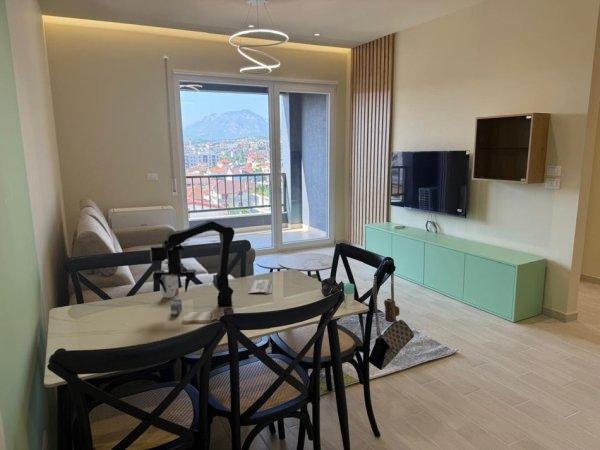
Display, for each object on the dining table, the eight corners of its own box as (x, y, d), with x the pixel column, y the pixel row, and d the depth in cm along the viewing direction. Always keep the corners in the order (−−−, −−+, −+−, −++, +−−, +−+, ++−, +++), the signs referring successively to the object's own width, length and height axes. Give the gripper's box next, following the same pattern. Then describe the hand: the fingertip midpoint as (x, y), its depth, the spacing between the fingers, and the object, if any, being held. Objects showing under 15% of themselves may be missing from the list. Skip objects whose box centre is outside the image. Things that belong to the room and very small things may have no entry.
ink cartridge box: (170, 292, 225) (169, 265, 222) (178, 292, 224) (177, 266, 221) (162, 297, 216) (160, 270, 214) (171, 298, 215) (169, 270, 213)
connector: (182, 308, 201) (182, 298, 200) (177, 318, 190) (177, 307, 189) (174, 308, 201) (174, 299, 200) (169, 318, 189) (168, 307, 188)
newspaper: (271, 295, 223) (270, 291, 222) (248, 297, 223) (248, 292, 223) (274, 282, 245) (274, 278, 245) (254, 284, 246) (253, 279, 245)
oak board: (212, 314, 195) (212, 311, 194) (209, 322, 185) (209, 320, 185) (186, 314, 194) (186, 312, 193) (182, 323, 184) (182, 320, 184)
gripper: (197, 255, 201) (198, 286, 203) (157, 255, 199) (159, 287, 202) (193, 260, 190) (195, 293, 192) (151, 261, 188) (153, 294, 191)
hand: (175, 292), depth 194 cm, fingers open, 9 cm apart
